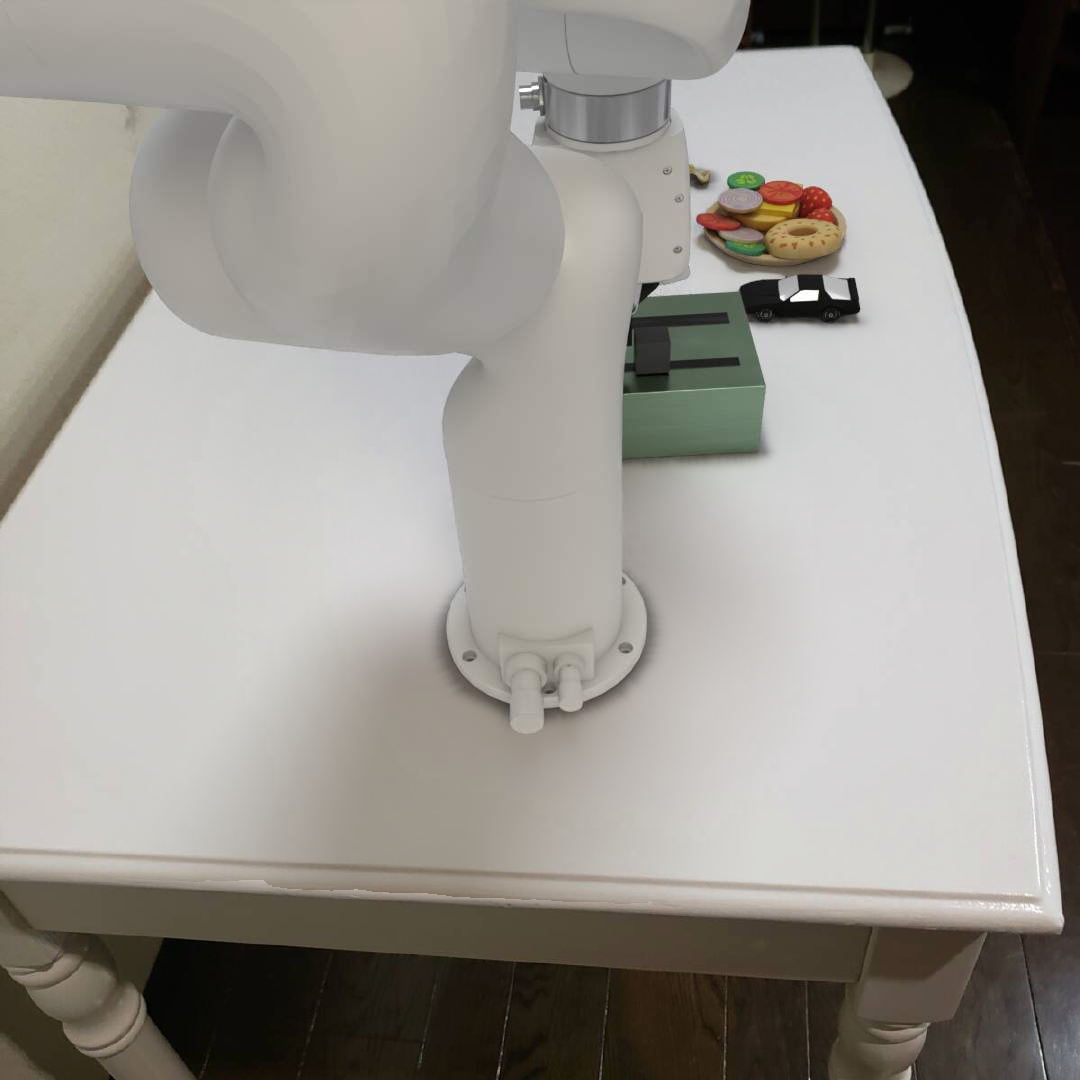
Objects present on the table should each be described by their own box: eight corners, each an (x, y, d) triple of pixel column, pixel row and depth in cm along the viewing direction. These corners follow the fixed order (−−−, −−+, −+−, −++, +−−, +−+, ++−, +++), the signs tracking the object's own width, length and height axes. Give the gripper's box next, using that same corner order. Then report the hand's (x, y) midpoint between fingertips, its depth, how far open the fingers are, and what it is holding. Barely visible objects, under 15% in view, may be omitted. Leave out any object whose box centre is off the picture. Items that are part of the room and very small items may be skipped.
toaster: (758, 451, 82) (766, 385, 77) (594, 460, 82) (593, 395, 78) (734, 355, 90) (740, 290, 86) (586, 363, 90) (584, 299, 86)
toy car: (736, 322, 93) (738, 294, 92) (734, 295, 96) (736, 267, 94) (858, 323, 92) (863, 295, 91) (852, 296, 95) (857, 268, 93)
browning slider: (669, 372, 79) (670, 342, 77) (635, 374, 79) (636, 344, 77) (666, 356, 80) (667, 325, 79) (633, 358, 80) (633, 327, 79)
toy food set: (832, 284, 97) (837, 250, 94) (683, 264, 100) (684, 232, 98) (853, 208, 105) (858, 176, 103) (715, 193, 109) (717, 161, 107)
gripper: (481, 137, 64) (505, 393, 77) (744, 119, 63) (723, 378, 76) (481, 81, 69) (504, 329, 82) (723, 64, 69) (707, 316, 82)
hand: (610, 352), depth 79 cm, fingers closed
